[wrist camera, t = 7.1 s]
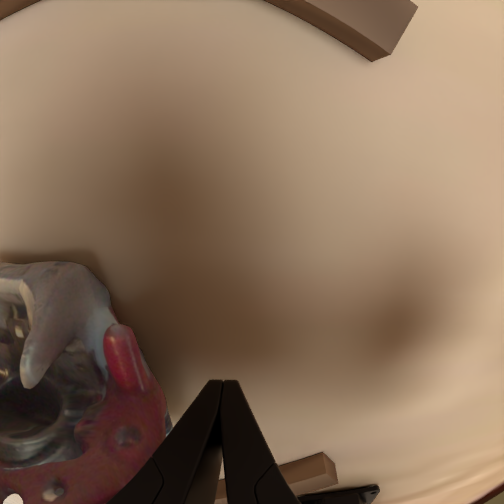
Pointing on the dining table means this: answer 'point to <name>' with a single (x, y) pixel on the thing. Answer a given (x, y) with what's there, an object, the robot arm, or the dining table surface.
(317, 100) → the dining table surface
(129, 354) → the brake caliper
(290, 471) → the bent brown bar
